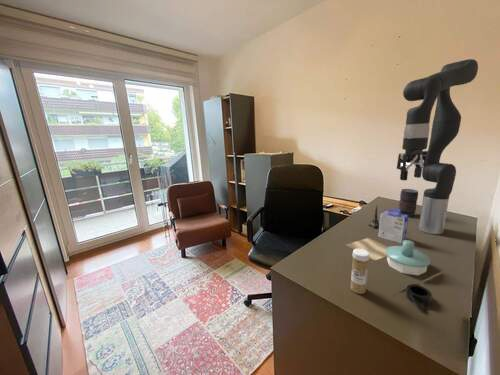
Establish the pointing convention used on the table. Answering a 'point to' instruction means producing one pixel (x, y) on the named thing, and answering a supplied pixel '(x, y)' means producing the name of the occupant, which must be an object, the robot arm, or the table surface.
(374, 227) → the eiffel tower figurine
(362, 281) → the sprinkles bottle
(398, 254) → the lid
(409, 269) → the bowl
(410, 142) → the robot arm
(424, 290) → the duct tape
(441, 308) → the table surface
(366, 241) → the mat
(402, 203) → the camera lens
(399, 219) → the ink cartridge box
